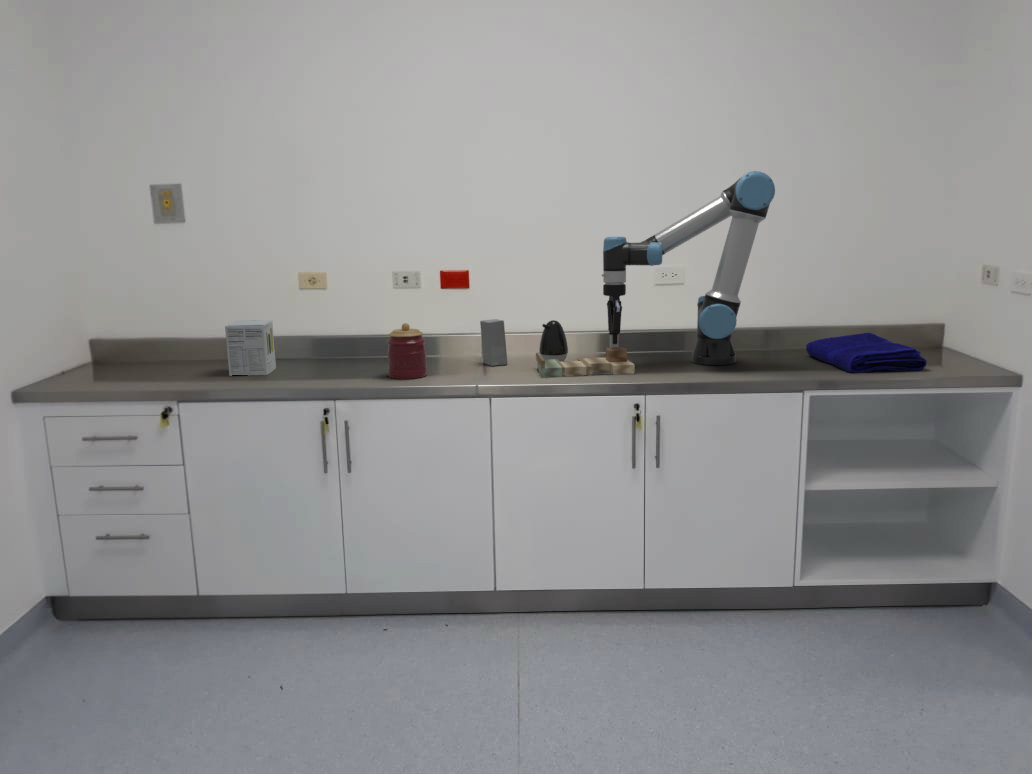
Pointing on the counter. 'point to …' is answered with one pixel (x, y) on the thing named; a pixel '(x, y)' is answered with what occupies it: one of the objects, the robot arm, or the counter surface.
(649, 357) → the counter surface
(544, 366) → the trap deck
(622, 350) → the walnut block
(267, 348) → the supplement box
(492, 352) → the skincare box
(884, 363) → the towel
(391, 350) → the canister
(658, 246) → the robot arm
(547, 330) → the pump dispenser
